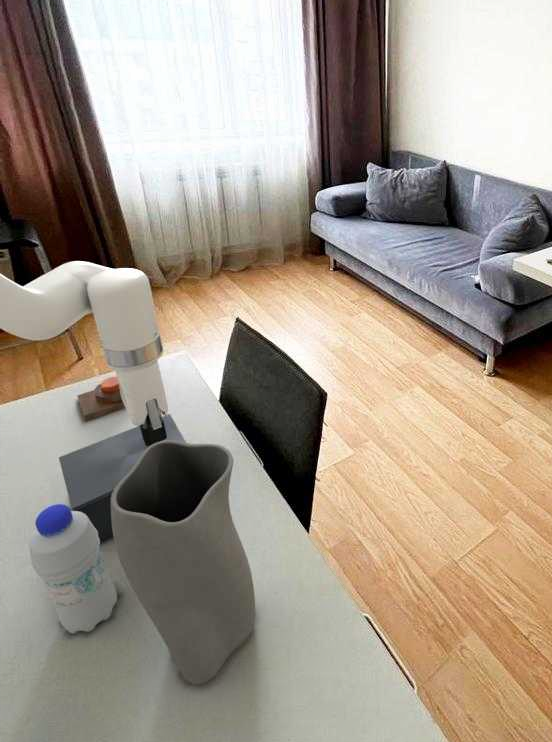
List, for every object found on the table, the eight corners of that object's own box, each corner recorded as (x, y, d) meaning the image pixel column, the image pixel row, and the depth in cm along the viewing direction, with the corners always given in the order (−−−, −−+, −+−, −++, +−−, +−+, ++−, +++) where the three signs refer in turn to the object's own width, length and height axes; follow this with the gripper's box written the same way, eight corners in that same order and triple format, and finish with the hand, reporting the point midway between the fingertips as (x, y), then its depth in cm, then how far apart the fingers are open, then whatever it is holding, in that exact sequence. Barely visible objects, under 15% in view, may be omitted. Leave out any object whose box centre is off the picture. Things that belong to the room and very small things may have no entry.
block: (86, 424, 99) (81, 408, 97) (79, 403, 104) (74, 388, 103) (153, 400, 107) (149, 385, 105) (143, 382, 112) (139, 367, 110)
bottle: (49, 632, 65) (-1, 528, 56) (93, 584, 71) (55, 483, 62) (91, 647, 64) (47, 543, 55) (133, 597, 70) (99, 496, 61)
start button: (104, 396, 102) (102, 389, 101) (101, 387, 104) (99, 380, 103) (124, 389, 104) (123, 382, 103) (120, 381, 106) (119, 374, 105)
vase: (217, 715, 58) (173, 545, 45) (136, 675, 61) (73, 505, 48) (280, 614, 69) (259, 453, 56) (208, 584, 72) (172, 425, 59)
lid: (170, 417, 90) (170, 413, 89) (193, 457, 81) (192, 454, 81) (60, 460, 79) (58, 457, 79) (73, 512, 71) (71, 508, 71)
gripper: (94, 334, 77) (119, 424, 85) (116, 381, 68) (141, 478, 75) (148, 320, 82) (167, 407, 90) (175, 362, 72) (194, 456, 80)
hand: (155, 439), depth 83 cm, fingers closed
